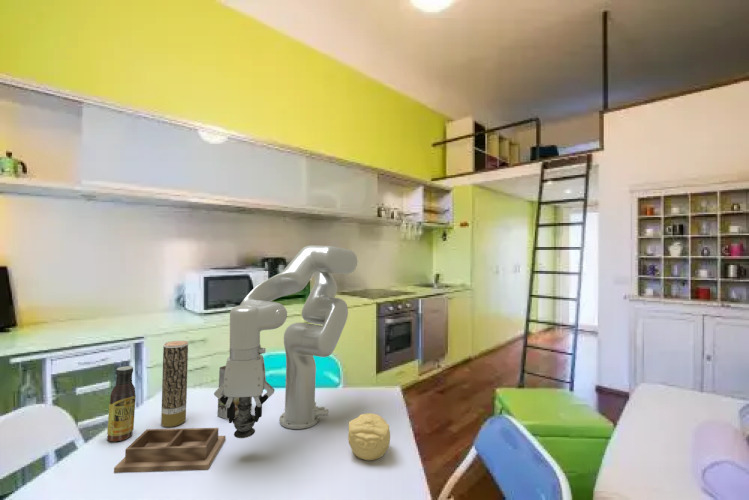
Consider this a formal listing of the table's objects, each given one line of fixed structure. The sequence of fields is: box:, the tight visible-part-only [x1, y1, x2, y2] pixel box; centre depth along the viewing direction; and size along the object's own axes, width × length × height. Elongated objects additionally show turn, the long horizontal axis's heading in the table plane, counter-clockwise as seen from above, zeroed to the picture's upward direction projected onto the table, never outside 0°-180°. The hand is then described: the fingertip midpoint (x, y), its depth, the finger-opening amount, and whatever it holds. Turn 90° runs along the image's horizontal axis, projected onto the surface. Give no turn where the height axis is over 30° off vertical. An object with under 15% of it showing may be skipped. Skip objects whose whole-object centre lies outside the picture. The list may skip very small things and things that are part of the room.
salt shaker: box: [232, 397, 256, 439], centre depth 95 cm, size 6×6×12 cm
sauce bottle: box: [106, 365, 137, 443], centre depth 103 cm, size 7×6×20 cm
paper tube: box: [160, 340, 189, 428], centre depth 112 cm, size 7×7×25 cm
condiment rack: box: [113, 427, 226, 473], centre depth 95 cm, size 22×14×4 cm, turn 96°
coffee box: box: [216, 365, 253, 421], centre depth 120 cm, size 9×6×16 cm
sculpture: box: [347, 412, 391, 461], centre depth 98 cm, size 12×12×11 cm
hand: (244, 419), depth 95 cm, fingers closed on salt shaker, 5 cm apart
